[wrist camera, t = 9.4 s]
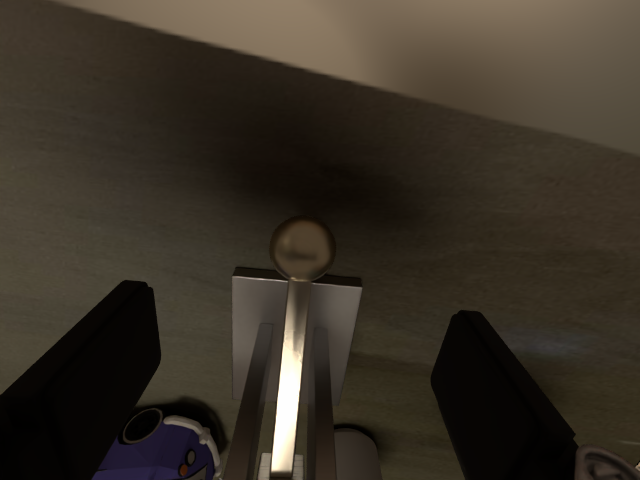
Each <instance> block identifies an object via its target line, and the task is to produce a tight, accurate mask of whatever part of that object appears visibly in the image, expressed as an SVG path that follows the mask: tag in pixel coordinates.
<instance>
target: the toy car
mask: <svg viewBox="0 0 640 480" xmlns="http://www.w3.org/2000/svg"><path fill="white" fill-rule="evenodd" d="M152 421H153V422H152ZM150 424H154V425H153V426H152V427H150V426H149V425H150ZM138 430H139V431H138ZM213 460H214V462H213ZM214 463H215V468H216V469H214ZM222 469H223V461H222V459H221V458H219V453H218V449H217V445H216V444H215V442H214V440H213V438H212V436H211V434H210V429H209V428H207V427H202V426H201V425H200V424H199V422H197V421H194V420H192V419H189V418H186V417H182V416H177V415H172V416H168V417H166V414H165V412H164V411H162V410H161V409H159V408H151V409H147V410H144V411H142V412H140V413H139V414H137V415H136V416H134V417H133V418H132V419H131V420H130V421H129V423H128V424H127V425H126V427H125V429H124V428H123V427H122V429H121V431H120V433H119V434H118V436H117V438H116V439H115V441H114V443H113V444H112V446H111V448H110V449H109V451H108V453H107V455H106V456H105V458H104V460H103V461H102V463H101V465H100V466H99V468H98V470H97V471H96V473H95V475H94V477H93V478H92V480H212V479H213V478H214V477H216V476H217V477H218V476H219V475H220V474H221V471H222Z"/></svg>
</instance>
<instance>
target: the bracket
mask: <svg viewBox="0 0 640 480" xmlns="http://www.w3.org/2000/svg"><path fill="white" fill-rule="evenodd" d="M287 285H288V279H287V278H285V277H284V276H282V275H281V274H280V273H279V272H278V271H269V270H257V269H246V268H235V271H234V273H233V275H232V399H239V400H241V404H240V409H239V413H238V417H237V421H236V426H235V430H234V434H233V438H232V442H231V447H230V451H229V455H228V459H227V464H226V468H225V472H224V476H223V479H221V478H219V479H218V480H253V475H254V469H255V462H256V456H257V450H258V443H259V437H260V431H261V424H262V418H263V412H264V405H265V401H271V402H276V399H277V389H278V378H279V368H280V358H281V347H282V337H283V327H284V316H285V306H286V296H287ZM362 289H363V286H362V283H361V279H358V278H347V277H336V276H325V275H323V276H321V277H320V278H318V279H316V280H313V281H312V283H311V293H310V303H309V314H308V324H307V335H306V345H305V355H304V366H303V376H302V387H301V397H300V403H304V404H308V421H307V479H306V480H337V473H336V457H335V440H334V424H333V408H332V405H336V406H339V402H340V397H341V392H342V388H343V383H344V378H345V373H346V368H347V363H348V358H349V353H350V348H351V343H352V339H353V334H354V329H355V324H356V319H357V314H358V309H359V304H360V299H361V294H362Z"/></svg>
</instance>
